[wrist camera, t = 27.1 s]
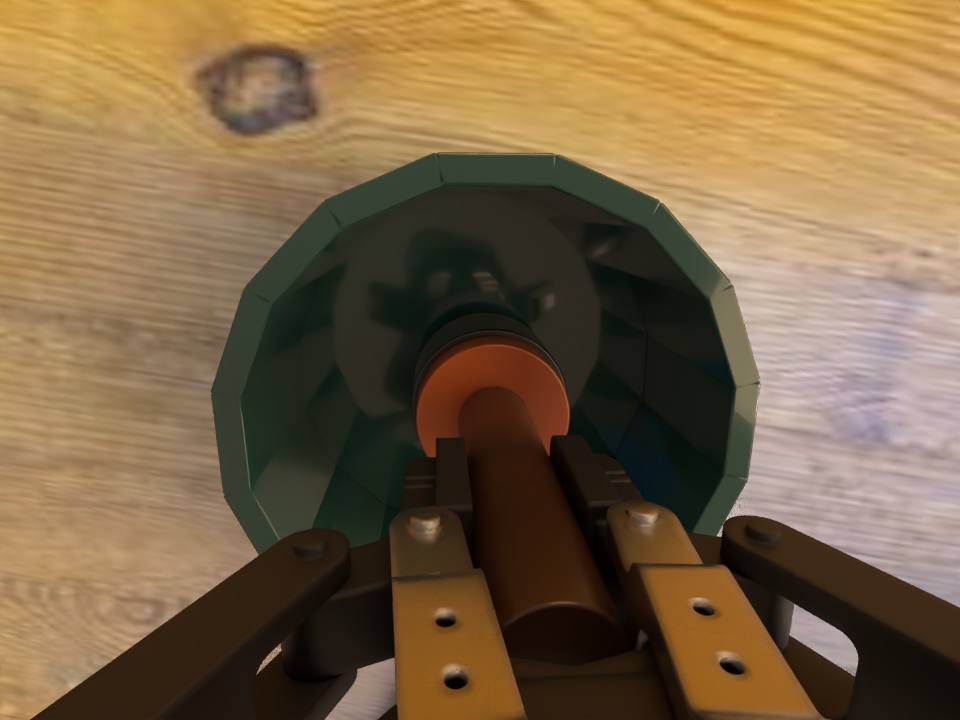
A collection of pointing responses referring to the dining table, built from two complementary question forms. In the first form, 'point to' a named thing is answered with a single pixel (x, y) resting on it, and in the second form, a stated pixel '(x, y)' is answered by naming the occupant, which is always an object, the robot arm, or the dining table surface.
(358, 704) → the dining table surface
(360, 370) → the pot
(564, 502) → the brush
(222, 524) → the dining table surface
